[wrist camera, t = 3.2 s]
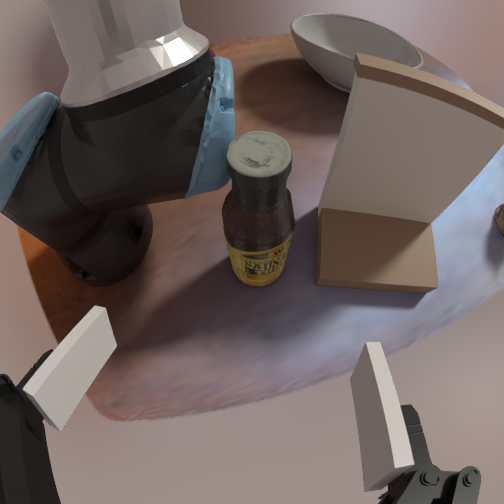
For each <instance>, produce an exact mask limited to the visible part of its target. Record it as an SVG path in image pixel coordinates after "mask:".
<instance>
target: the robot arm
mask: <svg viewBox="0 0 504 504" xmlns="http://www.w3.org/2000/svg"><path fill="white" fill-rule="evenodd" d="M45 4H46V7H47V10H48V13H49V16H50V19H51V22H52V25H53V28H54V31H55V33H56V36H57V39H58V41H59V44H60V47H61V49H62V52H63V54H64V57H65V59H66V62H67V64H68V66H69V75H68V78H67V80H66V83H65V85H64V88H63V90H62V93H61V97H60V100H61V103H62V105H60V104H59V102H58V101H59V99H58V97H57V96H54V95H53V94H52V93H49V92H44V93H41V94H39V95H37V96H36V97H34V98H33V99H31V100H30V101H29V102H28V103H26V104H25V105H24V106H23V107H22V108H21V109H20V110H19V111H18V112H17V113H16V114H15V115H14V116H13V117H12V119H11V120H10V121H9V122H8V123H7V125H6V126H5V127H4V129H3V130H2V131H1V133H0V212H1V213H2V214H4V215H5V216H6V217H8V218H9V219H10V220H12V221H13V222H14V223H16V224H17V225H19V226H20V227H22V228H23V229H24V230H26V231H27V232H29V233H30V234H32V235H33V236H35V237H36V238H38V239H39V240H41V241H42V242H44V243H45V244H47V245H48V246H50V247H52V248H53V249H54V250H55V251H56V252H57V254H58V255H59V257H60V258H61V260H62V261H63V263H64V264H65V266H66V267H67V268H68V270H69V271H70V272H71V273H72V274H73V275H74V276H75V277H77V278H78V279H80V280H82V281H84V282H86V283H88V284H90V285H94V286H106V285H111V284H114V283H116V282H118V281H120V280H122V279H123V278H125V277H126V276H128V275H129V274H130V273H131V272H132V271H133V270H134V269H135V268H136V267H137V266H138V264H139V263H140V262H141V260H142V259H143V257H144V255H145V254H146V252H147V249H148V247H149V244H150V241H151V237H152V230H153V222H152V216H151V212H150V210H149V208H148V206H147V204H152V203H158V202H164V201H170V200H176V199H182V198H183V199H187V198H190V197H191V196H192V195H197V194H201V193H205V192H210V191H214V190H218V189H220V188H222V187H223V186H225V185H226V184H227V183H228V182H229V180H230V179H231V177H230V176H229V174H228V173H227V169H226V151H227V148H228V146H229V144H230V143H231V142H232V141H233V140H234V139H235V113H234V109H233V107H234V78H233V68H232V64H231V61H230V60H229V59H227V58H221V57H219V56H216V57H213V58H212V59H211V54H210V48H209V42H208V39H207V38H206V37H204V36H202V35H200V34H199V33H197V32H195V31H193V30H192V29H190V28H188V27H186V26H185V24H184V23H183V20H182V14H181V9H180V4H179V0H45ZM116 347H117V344H116V341H115V338H114V335H113V332H112V328H111V325H110V321H109V318H108V314H107V311H106V308H104V307H100V306H96V305H95V306H94V307H93V308H92V309H91V310H90V311H89V312H88V313H87V314H86V315H85V316H84V318H83V319H82V320H81V321H80V322H79V323H78V324H77V325H76V326H75V327H74V328H73V329H72V331H71V332H70V333H69V334H68V335H67V336H66V337H65V338H64V340H63V341H62V342H61V343H60V344H59V345H58V346H57V348H56V349H55V350H52V349H51V350H49V351H47V352H46V353H44V354H43V355H42V356H41V357H40V359H39V360H38V362H37V363H35V364H34V366H33V368H31V369H30V370H29V372H28V373H27V374H26V375H25V377H24V378H23V379H22V380H21V381H20V383H19V384H18V385H17V386H16V387H15V385H14V384H13V382H12V381H11V379H10V378H9V377H8V376H7V375H5V374H0V504H61V502H60V499H59V496H58V492H57V489H56V485H55V481H54V477H53V473H52V468H51V464H50V459H49V454H48V448H47V442H46V435H45V428H44V424H43V422H42V421H43V419H45V420H46V421H47V422H48V423H49V425H51V426H52V427H54V428H56V429H57V430H59V431H61V430H62V429H63V427H64V426H65V424H66V422H67V421H68V419H69V418H70V416H71V414H72V413H73V411H74V410H75V408H76V406H77V405H78V403H79V402H80V400H81V399H82V397H83V396H84V394H85V392H86V391H87V389H88V388H89V386H90V385H91V383H92V382H93V380H94V379H95V377H96V376H97V374H98V373H99V371H100V370H101V368H102V367H103V366H104V364H105V363H106V361H107V360H108V358H109V357H110V355H111V354H112V353H113V351H114V350H115V348H116ZM350 382H351V387H352V394H353V400H354V406H355V413H356V420H357V427H358V434H359V442H360V450H361V459H362V469H363V480H364V491H365V492H367V491H374V490H380V489H383V488H384V487H385V486H386V485H388V491H387V492H385V493H384V494H382V495H381V496H380V497H379V499H381V498H382V499H381V501H380V502H379V503H378V504H477V500H478V495H479V490H480V483H481V474H480V472H479V470H478V469H477V468H476V467H473V466H468V467H465V468H464V469H462V470H461V471H460V472H450V471H441V470H440V469H439V468H438V467H437V466H435V465H433V464H432V462H431V460H430V457H429V452H428V448H427V444H426V440H425V437H424V433H423V429H422V426H421V425H420V419H419V416H418V413H417V412H416V410H415V409H414V408H413V406H412V405H402V406H400V404H399V400H398V397H397V393H396V390H395V386H394V384H393V380H392V377H391V374H390V370H389V368H388V364H387V362H386V358H385V355H384V352H383V349H382V347H381V344H380V342H365V345H364V347H363V350H362V352H361V355H360V357H359V360H358V362H357V365H356V367H355V369H354V372H353V374H352V376H351V378H350Z"/></svg>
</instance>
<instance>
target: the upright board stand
mask: <svg viewBox="0 0 504 504" xmlns="http://www.w3.org/2000/svg"><path fill="white" fill-rule="evenodd" d="M353 65H354V68H355V71H356V72H355V76H354V80H353V84H352V88H351V92H350V96H349V100H348V104H347V108H346V112H345V116H344V119H343V123H342V127H341V130H340V134H339V138H338V141H337V145H336V148H335V152H334V155H333V159H332V162H331V166H330V169H329V172H328V176H327V179H326V182H325V185H324V189H323V192H322V195H321V198H320V202H319V205H318V235H317V262H316V281H315V285H322V286H333V287H345V288H358V289H371V290H385V291H400V292H416V293H428V292H430V291H432V290H434V289H436V288H438V278H437V266H436V256H435V248H434V240H433V233H432V227H431V223H432V222H433V221H434V220H435V219H436V218H437V217H438V216H439V215H440V214H441V213H442V212H443V211H444V210H445V209H446V208H447V207H448V206H449V205H450V204H451V203H452V202H453V201H454V200H455V199H456V198H457V197H458V196H459V195H460V194H461V193H462V192H463V190H464V189H465V188H466V187H467V186H468V185H469V184H470V183H471V182H472V181H473V180H474V178H475V177H476V176H477V175H478V174H479V173H480V172H481V171H482V169H483V168H484V167H485V166H486V165H487V164H488V162H489V161H490V160H491V159H492V158H493V156H494V155H495V154H496V153H497V152H498V150H499V149H500V148H501V147H502V145H503V144H504V108H502V107H500V106H498V105H497V104H495V103H493V102H491V101H489V100H488V99H486V98H484V97H482V96H480V95H478V94H476V93H474V92H472V91H470V90H468V89H466V88H464V87H461V86H459V85H457V84H455V83H452V82H450V81H448V80H445V79H443V78H440V77H438V76H435V75H433V74H430V73H427V72H424V71H422V70H419V69H416V68H413V67H410V66H407V65H403V64H400V63H397V62H393V61H390V60H386V59H382V58H378V57H374V56H370V55H366V54H361V53H356V54H355V59H354V63H353Z"/></svg>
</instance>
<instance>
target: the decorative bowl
mask: <svg viewBox="0 0 504 504" xmlns="http://www.w3.org/2000/svg"><path fill="white" fill-rule="evenodd" d="M290 28H291V33H292V36H293V39H294V41H295V44H296V46H297V48H298V50H299V51H300V53H301V55H302V56H303V58H304V59H305V60H306V62H307V63H308V64H309V65H310V66H311V67H312V68H313V69H314V70H315V71H316V72H317V73H319V74H320V75H321V76H323V78H324V79H325V81H326V82H327V83H329V84H330V85H332V86H333V87H335V88H337V89H339V90H342V91H344V92H347V93H350V92H351V88H352V84H353V80H354V76H355V72H356V71H355V68H354V65H353V63H354V59H355V54H356V53H361V54H366V55H370V56H374V57H378V58H382V59H386V60H390V61H393V62H397V63H400V64H403V65H407V66H410V67H413V68H416V69H419V70H420V68H421V67H422V65H423V58H422V56H421V54H420V52H419V51H418V50H417V49H416V48H415V47H414V46H413V45H412V44H411V43H410V42H409V41H407V40H406V39H405V38H403V37H402V36H400V35H398V34H397V33H395V32H393V31H391V30H389V29H387V28H385V27H383V26H381V25H378V24H376V23H373V22H370V21H367V20H364V19H360V18H357V17H352V16H348V15H342V14H332V13H314V14H307V15H302V16H299V17H297V18H295V19H294V20H293V21H292V22H291V25H290Z"/></svg>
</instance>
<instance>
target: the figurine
mask: <svg viewBox="0 0 504 504" xmlns="http://www.w3.org/2000/svg"><path fill="white" fill-rule="evenodd" d="M495 220H496V223H497V225H498V227H499V229H500V231H501V232H502V233H503V235H504V204H502V205H500V206H499V207H497V208H496V212H495Z"/></svg>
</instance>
